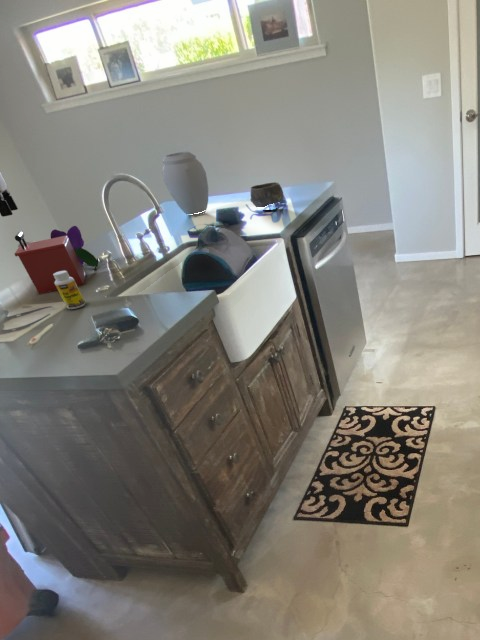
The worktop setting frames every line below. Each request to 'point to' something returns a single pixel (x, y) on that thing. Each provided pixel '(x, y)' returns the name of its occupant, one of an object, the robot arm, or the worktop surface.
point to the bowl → (266, 194)
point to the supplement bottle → (68, 290)
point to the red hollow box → (52, 267)
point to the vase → (186, 182)
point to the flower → (77, 245)
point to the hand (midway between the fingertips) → (10, 212)
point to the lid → (38, 244)
